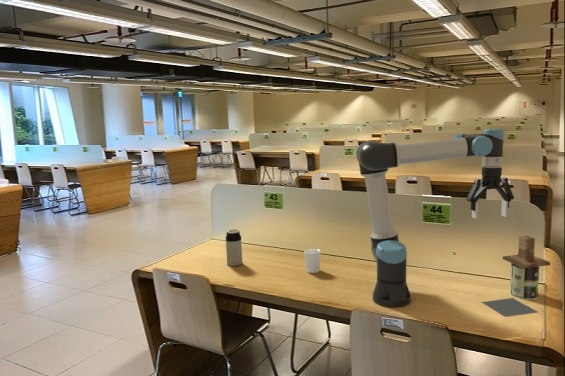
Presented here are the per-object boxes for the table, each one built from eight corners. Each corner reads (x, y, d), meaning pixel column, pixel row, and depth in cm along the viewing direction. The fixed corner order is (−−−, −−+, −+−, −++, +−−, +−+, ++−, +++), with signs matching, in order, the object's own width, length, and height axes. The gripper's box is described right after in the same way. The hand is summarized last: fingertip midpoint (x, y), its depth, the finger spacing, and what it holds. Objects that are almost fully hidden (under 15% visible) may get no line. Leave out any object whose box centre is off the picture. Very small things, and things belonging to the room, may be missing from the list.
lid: (523, 268, 179) (524, 242, 178) (502, 259, 191) (503, 235, 189) (550, 265, 182) (551, 239, 180) (528, 256, 193) (529, 232, 192)
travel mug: (245, 262, 244) (243, 229, 241) (236, 267, 237) (234, 233, 234) (233, 260, 248) (231, 228, 245) (224, 265, 241) (222, 231, 239)
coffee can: (538, 293, 190) (540, 260, 188) (537, 302, 181) (538, 267, 179) (511, 289, 195) (512, 257, 193) (508, 297, 187) (509, 264, 185)
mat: (505, 317, 169) (505, 316, 169) (481, 303, 183) (481, 302, 183) (538, 313, 172) (538, 312, 172) (512, 298, 185) (512, 298, 185)
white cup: (302, 272, 225) (302, 253, 224) (307, 267, 232) (307, 248, 231) (318, 274, 222) (317, 254, 221) (323, 269, 229) (322, 249, 228)
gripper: (469, 168, 185) (467, 220, 188) (525, 166, 189) (522, 217, 192) (459, 166, 192) (457, 216, 195) (513, 164, 196) (510, 213, 200)
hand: (489, 217), depth 194 cm, fingers open, 13 cm apart
